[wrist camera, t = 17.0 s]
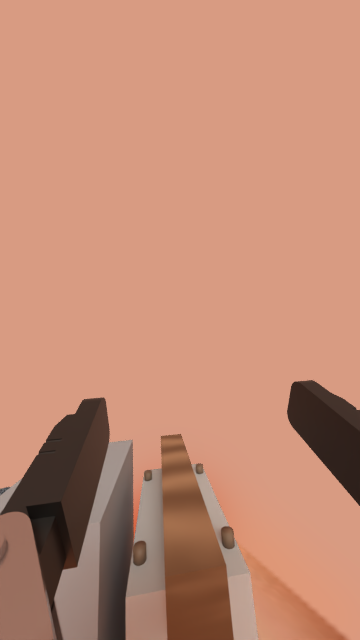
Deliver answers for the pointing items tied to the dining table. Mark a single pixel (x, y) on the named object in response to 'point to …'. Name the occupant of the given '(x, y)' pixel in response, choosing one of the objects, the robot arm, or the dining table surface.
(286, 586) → the dining table surface
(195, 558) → the batten
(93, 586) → the stand
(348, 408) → the robot arm
